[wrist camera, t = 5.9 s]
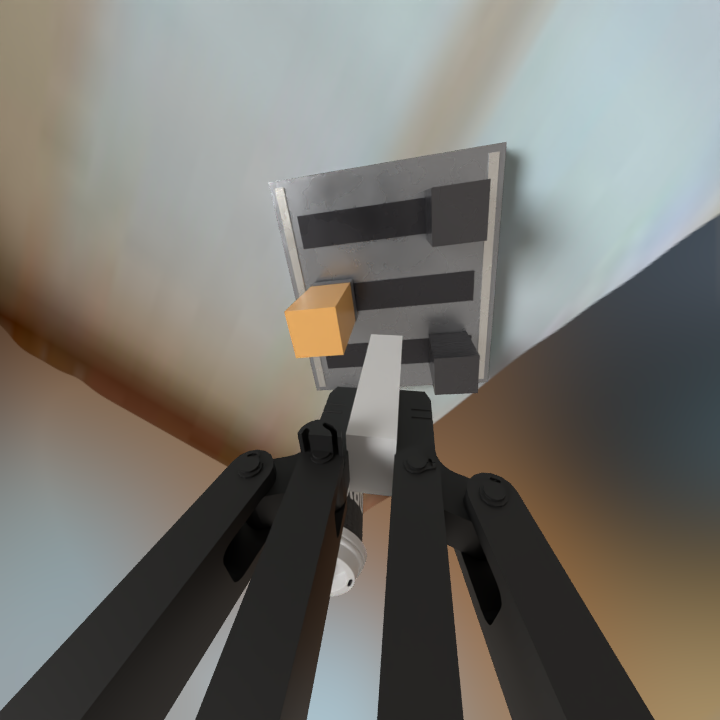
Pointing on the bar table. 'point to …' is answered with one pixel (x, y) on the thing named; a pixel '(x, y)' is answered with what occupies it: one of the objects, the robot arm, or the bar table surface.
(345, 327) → the breaker handle
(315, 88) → the bar table surface
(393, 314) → the panel
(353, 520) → the coffee cup
